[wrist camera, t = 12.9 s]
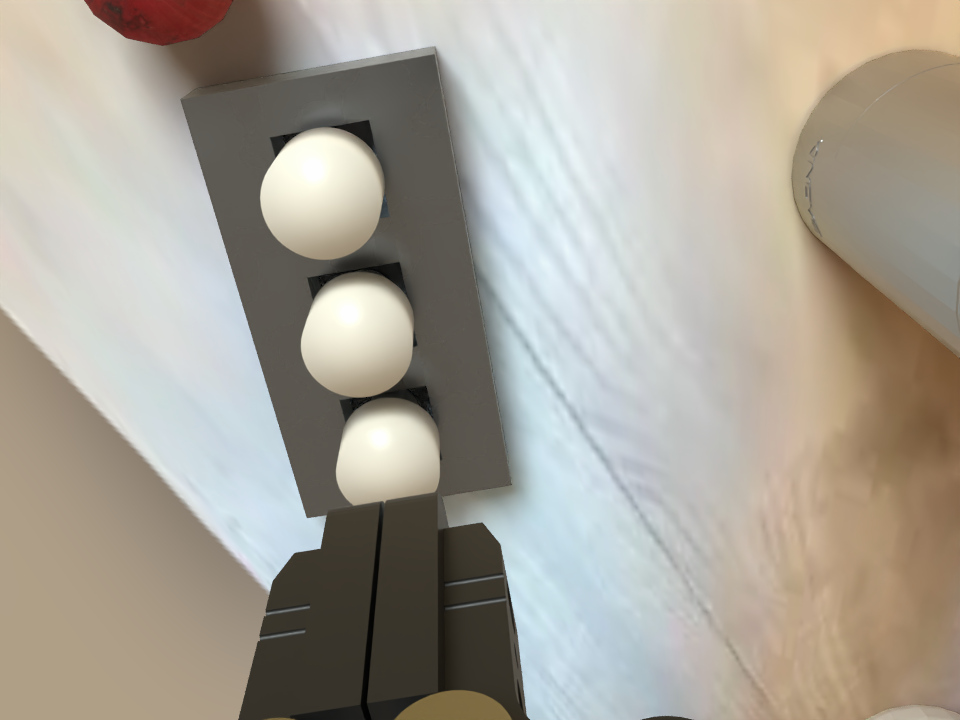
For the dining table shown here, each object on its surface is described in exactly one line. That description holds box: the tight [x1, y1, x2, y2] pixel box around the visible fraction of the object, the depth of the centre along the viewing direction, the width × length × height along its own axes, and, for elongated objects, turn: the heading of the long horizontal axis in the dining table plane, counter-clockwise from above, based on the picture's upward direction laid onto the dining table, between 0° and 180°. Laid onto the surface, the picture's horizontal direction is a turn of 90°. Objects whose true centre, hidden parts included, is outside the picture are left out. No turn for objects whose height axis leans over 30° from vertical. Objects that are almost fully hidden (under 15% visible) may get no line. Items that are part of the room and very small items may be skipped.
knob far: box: [336, 389, 440, 505], centre depth 41 cm, size 4×4×6 cm
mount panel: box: [181, 46, 512, 518], centre depth 41 cm, size 10×20×2 cm, turn 9°
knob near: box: [260, 127, 385, 260], centre depth 36 cm, size 4×4×6 cm
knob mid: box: [301, 270, 414, 397], centre depth 39 cm, size 4×4×6 cm
